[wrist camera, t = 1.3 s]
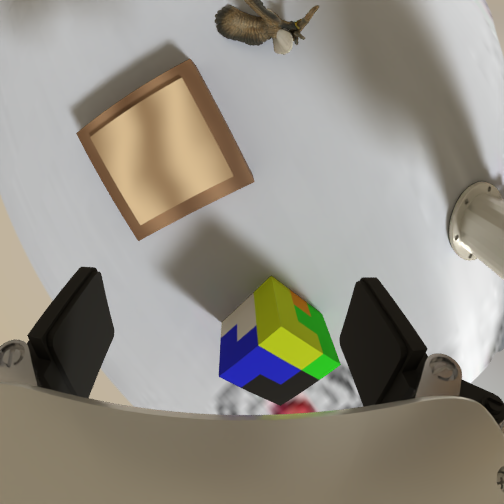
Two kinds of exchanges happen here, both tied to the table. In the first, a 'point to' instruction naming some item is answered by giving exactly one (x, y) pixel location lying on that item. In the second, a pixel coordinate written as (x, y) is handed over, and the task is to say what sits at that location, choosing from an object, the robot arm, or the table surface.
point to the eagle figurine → (261, 26)
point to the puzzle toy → (275, 344)
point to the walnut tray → (165, 151)
